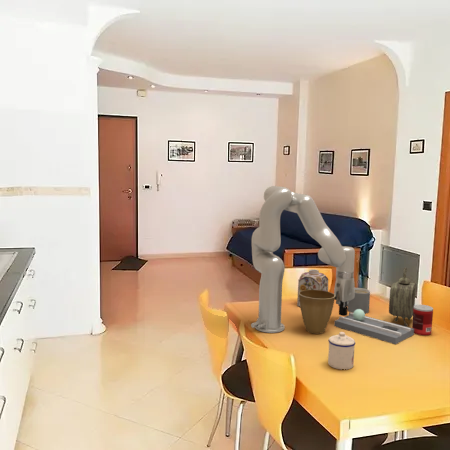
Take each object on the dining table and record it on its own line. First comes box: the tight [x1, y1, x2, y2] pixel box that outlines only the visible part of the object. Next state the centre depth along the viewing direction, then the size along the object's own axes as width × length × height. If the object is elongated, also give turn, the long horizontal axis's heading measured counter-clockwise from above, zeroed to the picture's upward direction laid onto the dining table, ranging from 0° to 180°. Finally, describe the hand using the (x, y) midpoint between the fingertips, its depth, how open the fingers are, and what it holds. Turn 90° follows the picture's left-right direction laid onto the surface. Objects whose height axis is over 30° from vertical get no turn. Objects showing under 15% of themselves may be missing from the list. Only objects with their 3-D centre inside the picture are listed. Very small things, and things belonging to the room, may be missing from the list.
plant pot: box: [299, 290, 336, 335], centre depth 199 cm, size 15×15×16 cm
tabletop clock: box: [388, 266, 417, 327], centre depth 211 cm, size 14×9×25 cm, turn 152°
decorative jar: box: [296, 268, 329, 307], centre depth 235 cm, size 12×12×18 cm
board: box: [333, 312, 415, 345], centre depth 201 cm, size 28×16×4 cm, turn 44°
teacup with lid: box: [327, 331, 356, 371], centre depth 167 cm, size 12×9×12 cm
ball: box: [353, 309, 366, 321], centre depth 206 cm, size 5×5×5 cm
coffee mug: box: [347, 287, 371, 315], centre depth 230 cm, size 13×10×10 cm
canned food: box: [411, 304, 434, 337], centre depth 199 cm, size 8×8×11 cm
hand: (342, 315), depth 212 cm, fingers closed
